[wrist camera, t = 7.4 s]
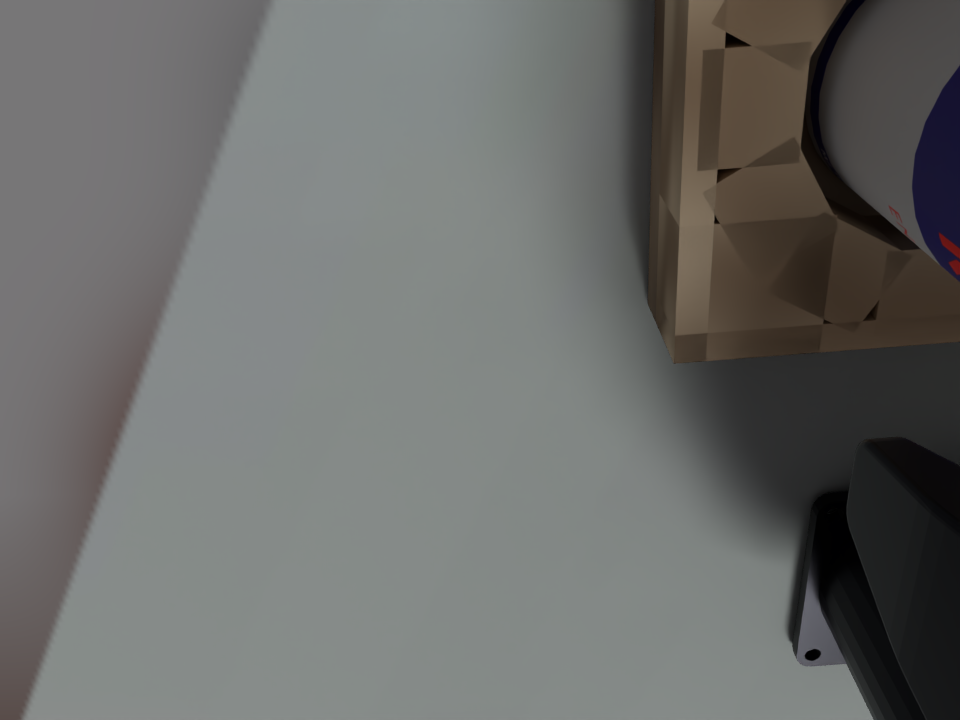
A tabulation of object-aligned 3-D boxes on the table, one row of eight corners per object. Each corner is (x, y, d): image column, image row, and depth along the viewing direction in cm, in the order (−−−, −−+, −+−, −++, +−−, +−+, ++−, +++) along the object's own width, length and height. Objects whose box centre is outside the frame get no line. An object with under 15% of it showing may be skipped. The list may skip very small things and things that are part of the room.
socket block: (1091, 269, 23) (1175, 325, 20) (647, 303, 23) (673, 363, 20) (1243, -266, 17) (1386, -285, 15) (660, -219, 17) (698, -230, 15)
